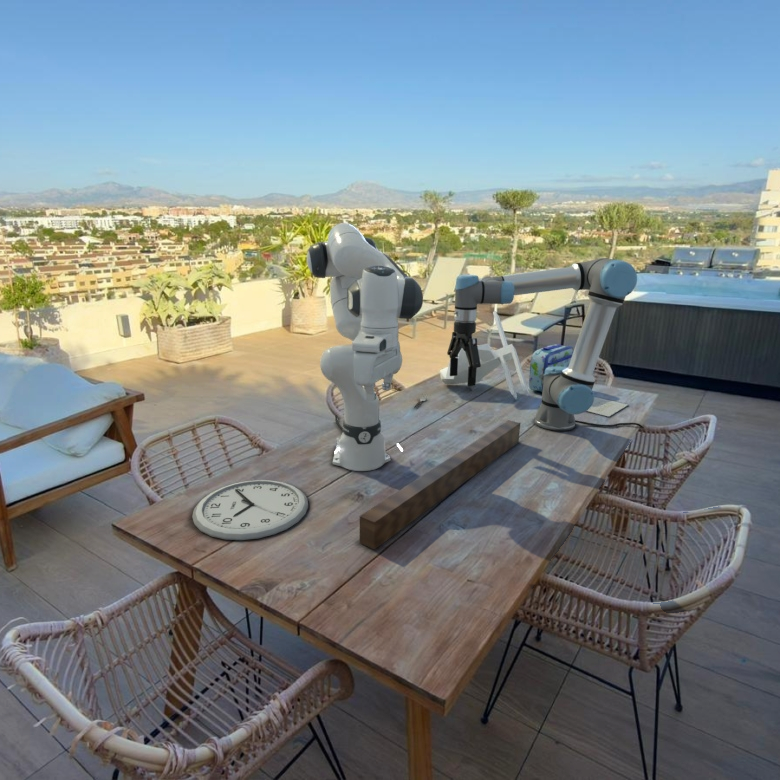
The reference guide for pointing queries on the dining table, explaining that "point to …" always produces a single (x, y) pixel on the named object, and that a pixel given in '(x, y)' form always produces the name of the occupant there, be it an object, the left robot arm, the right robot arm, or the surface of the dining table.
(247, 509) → the wall clock
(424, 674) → the dining table surface
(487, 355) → the white plastic object
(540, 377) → the lunch box
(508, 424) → the beam
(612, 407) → the invitation card
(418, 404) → the fork
